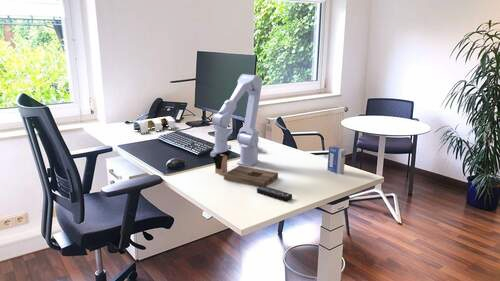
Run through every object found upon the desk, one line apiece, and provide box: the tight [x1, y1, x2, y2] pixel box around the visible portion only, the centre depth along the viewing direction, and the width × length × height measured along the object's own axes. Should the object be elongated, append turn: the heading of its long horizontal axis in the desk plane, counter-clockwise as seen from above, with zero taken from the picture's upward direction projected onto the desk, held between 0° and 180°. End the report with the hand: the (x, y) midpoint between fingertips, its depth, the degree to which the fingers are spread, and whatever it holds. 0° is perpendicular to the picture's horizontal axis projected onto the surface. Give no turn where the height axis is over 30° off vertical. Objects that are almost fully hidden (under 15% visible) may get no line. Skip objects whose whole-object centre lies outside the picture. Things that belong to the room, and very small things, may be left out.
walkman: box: [326, 145, 346, 175], centre depth 182 cm, size 8×3×12 cm, turn 37°
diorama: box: [132, 113, 176, 133], centre depth 255 cm, size 25×10×13 cm, turn 131°
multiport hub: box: [256, 186, 293, 203], centre depth 155 cm, size 4×14×2 cm, turn 52°
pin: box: [214, 154, 228, 175], centre depth 180 cm, size 4×4×8 cm
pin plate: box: [223, 164, 279, 188], centre depth 173 cm, size 14×20×2 cm
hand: (221, 167), depth 180 cm, fingers closed on pin, 4 cm apart
